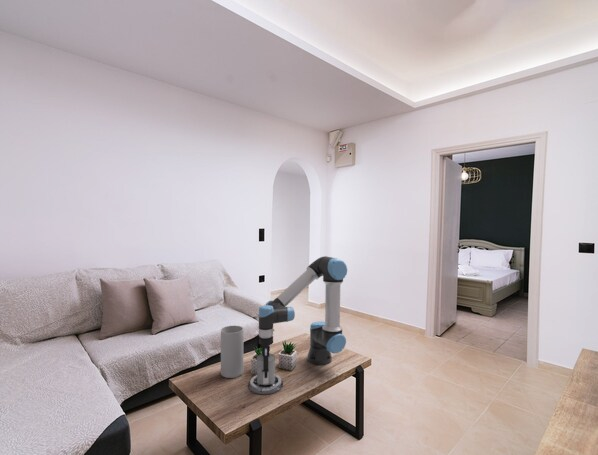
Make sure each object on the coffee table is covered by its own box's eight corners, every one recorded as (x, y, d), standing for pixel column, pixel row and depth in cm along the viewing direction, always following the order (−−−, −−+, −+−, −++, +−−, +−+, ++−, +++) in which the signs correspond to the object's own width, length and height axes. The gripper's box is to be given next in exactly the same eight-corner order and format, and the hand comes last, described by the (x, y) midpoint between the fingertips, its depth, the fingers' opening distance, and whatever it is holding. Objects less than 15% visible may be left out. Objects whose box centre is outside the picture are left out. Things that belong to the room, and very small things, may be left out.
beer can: (272, 385, 160) (272, 361, 159) (254, 384, 161) (254, 360, 161) (276, 376, 169) (276, 353, 169) (259, 375, 171) (259, 352, 170)
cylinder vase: (230, 381, 169) (230, 334, 169) (216, 374, 177) (216, 329, 176) (248, 372, 179) (248, 328, 179) (233, 366, 187) (233, 324, 186)
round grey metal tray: (282, 376, 175) (282, 371, 175) (283, 393, 157) (283, 388, 157) (249, 377, 173) (249, 373, 173) (247, 395, 155) (247, 390, 155)
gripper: (273, 343, 154) (273, 389, 154) (272, 328, 176) (272, 368, 177) (258, 344, 153) (258, 390, 154) (259, 328, 175) (259, 368, 176)
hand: (265, 378), depth 165 cm, fingers closed on beer can, 9 cm apart
